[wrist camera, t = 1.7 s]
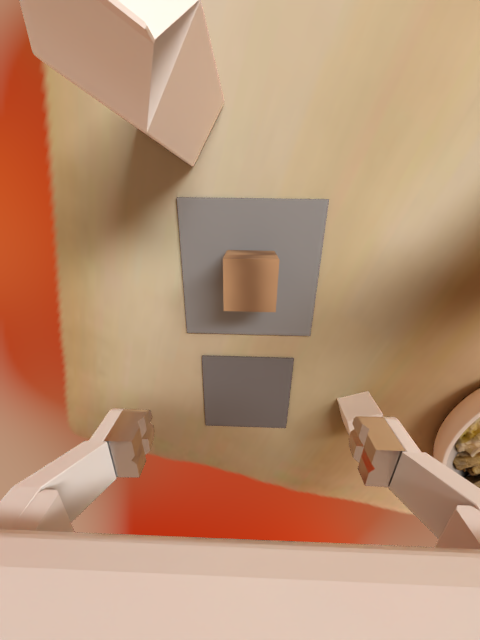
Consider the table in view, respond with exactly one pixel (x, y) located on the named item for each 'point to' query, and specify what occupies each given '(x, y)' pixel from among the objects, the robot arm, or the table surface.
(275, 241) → the tile
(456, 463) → the bowl
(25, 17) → the milk carton
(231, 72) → the table surface
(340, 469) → the table surface
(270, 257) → the walnut block
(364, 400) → the beige block
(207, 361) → the mat
